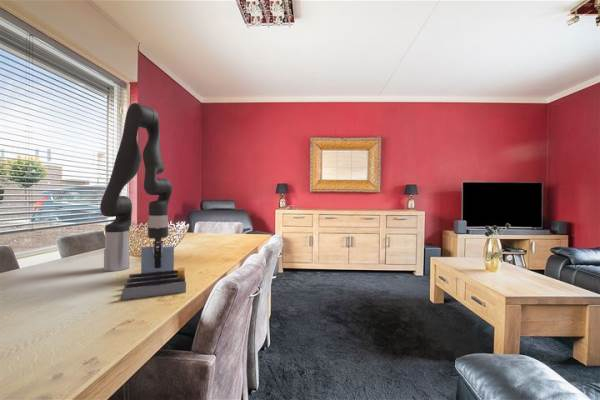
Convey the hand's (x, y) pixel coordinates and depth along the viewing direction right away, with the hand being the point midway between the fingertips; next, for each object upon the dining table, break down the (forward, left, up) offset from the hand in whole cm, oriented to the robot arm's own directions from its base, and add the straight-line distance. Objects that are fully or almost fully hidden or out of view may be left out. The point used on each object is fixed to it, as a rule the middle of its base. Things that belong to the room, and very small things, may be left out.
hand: (157, 266), depth 115 cm
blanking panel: (0, 0, -4) cm, 4 cm away
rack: (0, -16, -4) cm, 16 cm away
